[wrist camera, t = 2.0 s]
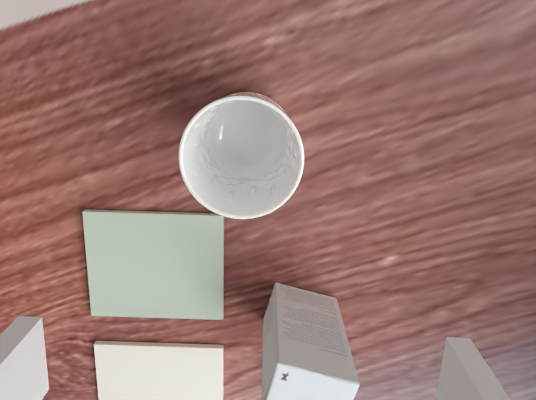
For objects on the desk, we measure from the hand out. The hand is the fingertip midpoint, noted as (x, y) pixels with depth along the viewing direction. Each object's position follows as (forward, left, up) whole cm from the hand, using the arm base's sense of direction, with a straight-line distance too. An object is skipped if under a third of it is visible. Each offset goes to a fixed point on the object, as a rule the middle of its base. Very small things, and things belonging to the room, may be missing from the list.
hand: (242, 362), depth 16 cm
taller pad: (+9, +22, -26) cm, 36 cm away
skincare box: (-4, +13, -27) cm, 30 cm away
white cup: (+1, -3, -27) cm, 27 cm away
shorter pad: (+9, +9, -26) cm, 29 cm away
